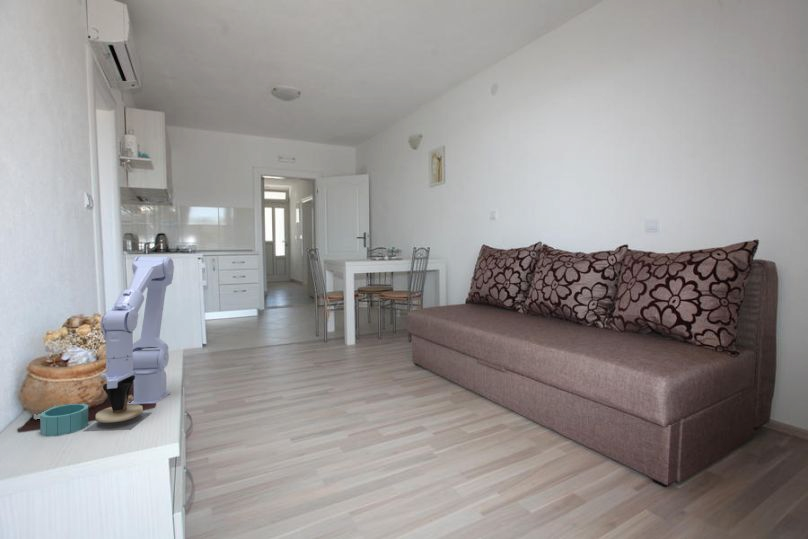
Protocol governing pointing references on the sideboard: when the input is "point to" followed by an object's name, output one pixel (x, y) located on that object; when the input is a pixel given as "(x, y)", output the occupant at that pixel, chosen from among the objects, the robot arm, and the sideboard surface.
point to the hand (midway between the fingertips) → (119, 407)
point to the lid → (119, 413)
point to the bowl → (63, 419)
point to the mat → (118, 424)
